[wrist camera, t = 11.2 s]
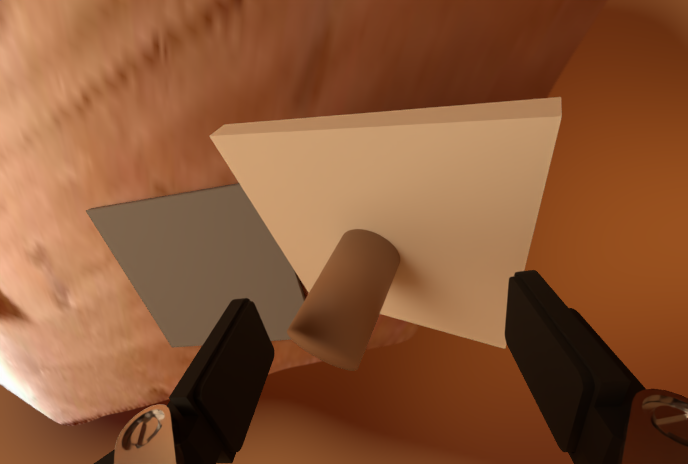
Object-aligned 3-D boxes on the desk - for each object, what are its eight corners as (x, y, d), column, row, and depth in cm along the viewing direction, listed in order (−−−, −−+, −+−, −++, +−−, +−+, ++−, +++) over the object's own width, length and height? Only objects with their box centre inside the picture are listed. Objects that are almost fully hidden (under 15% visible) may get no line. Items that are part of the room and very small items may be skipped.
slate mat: (90, 208, 30) (85, 210, 30) (267, 178, 27) (265, 180, 26) (174, 343, 39) (172, 347, 39) (316, 333, 36) (315, 337, 35)
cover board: (224, 124, 16) (108, 212, 12) (561, 97, 9) (567, 300, 4) (315, 282, 26) (270, 360, 22) (507, 331, 19) (493, 461, 14)
